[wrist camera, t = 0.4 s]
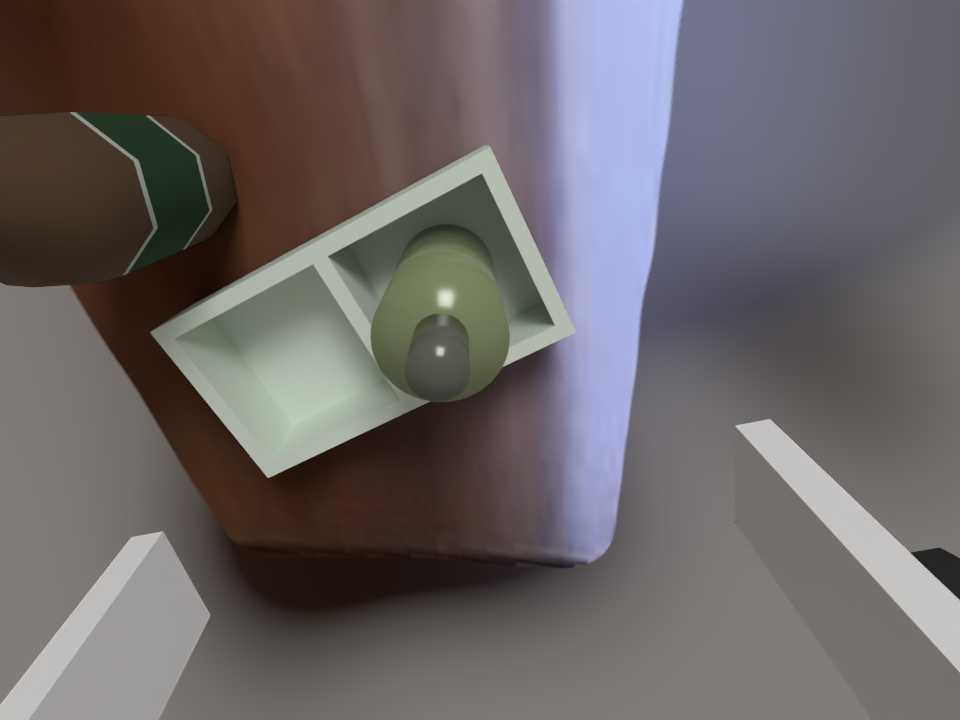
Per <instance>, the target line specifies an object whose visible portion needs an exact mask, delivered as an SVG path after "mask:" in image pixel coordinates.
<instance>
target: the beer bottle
mask: <svg viewBox="0 0 960 720" xmlns="http://www.w3.org/2000/svg"><path fill="white" fill-rule="evenodd" d="M237 201H238V200H237V196H236V192H235V187H234V183H233V178H232V174H231V170H230V165H229V161H228V156H227V153H226V152H225V151H224V150H223V149H221V148H220V147H219V146H218V145H216V144H215V143H214V142H213V141H211V140H210V139H209V138H208V137H206V136H205V135H204V134H203V133H202V132H200V131H199V130H198V129H197V128H195V127H194V126H193V125H192V124H190V123H189V122H188V121H187V120H185V119H181V118H176V117H167V116H145V115H123V114H101V113H79V112H63V113H46V114H30V115H14V116H0V282H1V283H3V284H5V285H11V286H24V287H45V286H59V285H76V284H92V283H100V282H103V281H107V280H110V279H113V278H117V277H120V276H123V275H126V274H128V273H130V272H133V271H135V270H137V269H140V268H142V267H144V266H147V265H149V264H151V263H154V262H156V261H158V260H160V259H163V258H165V257H167V256H170V255H172V254H174V253H177V252H179V251H181V250H184V249H186V248H188V247H191V246H193V245H195V244H197V243H200V242H202V241H204V240H206V239H207V238H209V237H211V236H212V235H214V234H215V232H216V231H217V229H218V228H219V226H220V225H221V224H222V222H223V221H224V219H225V218H226V216H227V215H228V214H229V212H230V211H231V209H232V208H233V206H234V205H235V204H236V202H237Z"/></svg>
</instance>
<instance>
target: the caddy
mask: <svg viewBox="0 0 960 720" xmlns="http://www.w3.org/2000/svg"><path fill="white" fill-rule="evenodd" d="M441 224H451V225H457V226H461V227H463V228H466V229H468V230H470V231H472V232H473V233H474V234H476V235H477V236H478V237H479V238H480V239H481V240H482V241H483V242H484V243H485V245H486V246H487V248H488V250H489V252H490V254H491V257H492V260H493V264H494V268H495V273H496V277H497V281H498V285H499V289H500V293H501V297H502V301H503V305H504V309H505V313H506V317H507V322H508V326H509V333H510V344H509V350H508V354H507V358H506V360H505V363H504V365H503V367H504V366H506V365H508V364H510V363H512V362H514V361H516V360H518V359H521V358H523V357H525V356H527V355H529V354H531V353H533V352H535V351H537V350H540V349H542V348H544V347H546V346H548V345H550V344H552V343H554V342H556V341H559V340H561V339H563V338H565V337H567V336H569V335H571V334H573V333H575V332H576V331H575V329H574V326H573V324H572V322H571V320H570V318H569V316H568V314H567V311H566V309H565V307H564V305H563V303H562V301H561V298H560V296H559V294H558V292H557V290H556V288H555V286H554V283H553V281H552V279H551V277H550V275H549V273H548V270H547V268H546V266H545V264H544V262H543V260H542V258H541V255H540V253H539V251H538V249H537V247H536V245H535V242H534V240H533V238H532V236H531V234H530V232H529V229H528V227H527V225H526V223H525V221H524V219H523V217H522V214H521V212H520V210H519V208H518V206H517V204H516V201H515V199H514V197H513V195H512V193H511V191H510V189H509V186H508V184H507V182H506V180H505V178H504V176H503V173H502V171H501V169H500V167H499V165H498V163H497V161H496V158H495V156H494V154H493V152H492V150H491V148H490V147H489V146H488V145H486V144H485V145H483V146H482V147H480V148H478V149H476V150H474V151H472V152H471V153H469V154H467V155H465V156H463V157H462V158H460V159H458V160H456V161H454V162H452V163H451V164H449V165H447V166H445V167H443V168H441V169H440V170H438V171H436V172H434V173H432V174H430V175H429V176H427V177H425V178H423V179H421V180H419V181H418V182H416V183H414V184H412V185H410V186H408V187H407V188H405V189H403V190H401V191H399V192H397V193H396V194H394V195H392V196H390V197H388V198H386V199H385V200H383V201H381V202H379V203H377V204H375V205H374V206H372V207H370V208H368V209H366V210H364V211H363V212H361V213H359V214H357V215H355V216H353V217H352V218H350V219H348V220H346V221H344V222H342V223H341V224H339V225H337V226H335V227H333V228H331V229H330V230H328V231H326V232H324V233H322V234H320V235H319V236H317V237H315V238H313V239H311V240H310V241H308V242H306V243H304V244H302V245H300V246H299V247H297V248H295V249H293V250H291V251H289V252H288V253H286V254H284V255H282V256H280V257H278V258H277V259H275V260H273V261H271V262H269V263H267V264H266V265H264V266H262V267H260V268H258V269H256V270H255V271H253V272H251V273H249V274H247V275H245V276H244V277H242V278H240V279H238V280H236V281H234V282H233V283H231V284H229V285H227V286H225V287H223V288H222V289H220V290H218V291H216V292H214V293H212V294H211V295H209V296H207V297H205V298H203V299H201V300H200V301H198V302H196V303H194V304H193V305H191V306H189V307H188V308H186V309H185V310H183V311H182V312H180V313H179V314H177V315H176V316H174V317H173V318H171V319H170V320H168V321H166V322H165V323H163V324H162V325H160V326H159V327H157V328H156V329H154V330H153V331H151V332H150V333H151V334H152V336H153V337H154V338H155V339H156V341H157V342H158V343H159V344H160V345H161V347H162V348H163V349H164V350H165V352H166V353H167V354H168V355H169V357H170V358H171V359H172V360H173V362H174V363H175V364H176V365H177V366H178V368H179V369H180V370H181V371H182V373H183V374H184V375H185V376H186V378H187V379H188V380H189V381H190V382H191V384H192V385H193V386H194V387H195V389H196V390H197V391H198V392H199V394H200V395H201V396H202V397H203V398H204V400H205V401H206V402H207V403H208V405H209V406H210V407H211V408H212V410H213V411H214V412H215V413H216V415H217V416H218V417H219V418H220V419H221V421H222V422H223V423H224V424H225V426H226V427H227V428H228V429H229V431H230V432H231V433H232V434H233V435H234V437H235V438H236V439H237V440H238V442H239V443H240V444H241V445H242V447H243V448H244V449H245V450H246V451H247V453H248V454H249V455H250V456H251V458H252V459H253V460H254V461H255V463H256V464H257V465H258V466H259V467H260V469H261V470H262V471H263V472H264V474H265V475H266V476H267V477H268V478H269V477H271V476H274V475H276V474H278V473H280V472H282V471H284V470H286V469H288V468H290V467H293V466H295V465H297V464H299V463H301V462H303V461H305V460H307V459H309V458H312V457H314V456H316V455H318V454H320V453H322V452H324V451H326V450H328V449H331V448H333V447H335V446H337V445H339V444H341V443H343V442H345V441H347V440H350V439H352V438H354V437H356V436H358V435H360V434H362V433H364V432H366V431H369V430H371V429H373V428H375V427H377V426H379V425H381V424H383V423H385V422H388V421H390V420H392V419H394V418H396V417H398V416H400V415H402V414H404V413H407V412H409V411H411V410H413V409H415V408H417V407H419V406H421V405H423V404H426V403H428V402H430V401H427V400H422V399H419V398H416V397H413V396H411V395H409V394H407V393H405V392H403V391H402V390H400V389H398V388H397V387H396V386H395V385H393V384H392V383H391V382H390V381H389V380H388V379H387V378H386V377H385V375H384V374H383V372H382V371H381V370H380V368H379V366H378V364H377V363H376V360H375V357H374V355H373V351H372V347H371V338H370V337H371V326H372V321H373V318H374V315H375V312H376V310H377V308H378V305H379V303H380V301H381V299H382V297H383V295H384V293H385V290H386V288H387V286H388V284H389V282H390V280H391V278H392V275H393V273H394V271H395V269H396V267H397V265H398V263H399V260H400V258H401V256H402V254H403V252H404V250H405V248H406V246H407V245H408V243H409V242H410V241H411V239H412V238H413V237H414V236H416V235H417V234H418V233H419V232H421V231H423V230H424V229H426V228H429V227H432V226H435V225H441Z"/></svg>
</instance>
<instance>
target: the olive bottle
mask: <svg viewBox="0 0 960 720" xmlns="http://www.w3.org/2000/svg"><path fill="white" fill-rule="evenodd" d="M370 338H371V347H372V351H373V355H374V357H375V360H376V363H377V364H378V366H379V368H380V370H381V371H382V372H383V374H384V375H385V377H386V378H387V379H388V380H389V381H390V382H391V383H392V384H393V385H395V386H396V387H397V388H398V389H400V390H402V391H403V392H405V393H407V394H409V395H411V396H413V397H416V398H419V399H422V400H427V401H433V402H450V401H456V400H460V399H464V398H467V397H469V396H472V395H474V394H475V393H477V392H479V391H481V390H482V389H483V388H485V387H486V386H487V385H488V384H490V383H491V382H492V381H493V380H494V378H495V377H496V376H497V375H498V373H499V372H500V370H501V369H502V367H503V365H504V363H505V360H506V358H507V354H508V350H509V344H510V333H509V326H508V322H507V317H506V313H505V309H504V305H503V301H502V297H501V293H500V289H499V285H498V281H497V277H496V273H495V268H494V264H493V260H492V257H491V254H490V252H489V250H488V248H487V246H486V245H485V243H484V242H483V241H482V240H481V239H480V238H479V237H478V236H477V235H476V234H474V233H473V232H472V231H470V230H468V229H466V228H463V227H461V226H457V225H451V224H441V225H435V226H432V227H429V228H426V229H424V230H423V231H421V232H419V233H418V234H417V235H416V236H414V237H413V238H412V239H411V241H410V242H409V243H408V245H407V246H406V248H405V250H404V252H403V254H402V256H401V258H400V260H399V263H398V265H397V267H396V269H395V271H394V273H393V275H392V278H391V280H390V282H389V284H388V286H387V288H386V290H385V293H384V295H383V297H382V299H381V301H380V303H379V305H378V308H377V310H376V312H375V315H374V318H373V321H372V326H371V337H370Z"/></svg>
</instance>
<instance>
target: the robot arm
mask: <svg viewBox="0 0 960 720" xmlns="http://www.w3.org/2000/svg"><path fill="white" fill-rule="evenodd" d="M735 524H736V525H737V527H738V528H739V529H740V531H741V532H742V534H743V535H744V537H745V538H746V540H747V541H748V542H749V544H750V545H751V547H752V548H753V550H754V551H755V552H756V554H757V555H758V557H759V558H760V560H761V561H762V563H763V564H764V566H765V567H766V568H767V570H768V571H769V573H770V574H771V576H772V577H773V579H774V580H775V581H776V583H777V584H778V586H779V587H780V589H781V590H782V592H783V593H784V594H785V596H786V597H787V599H788V600H789V602H790V603H791V605H792V606H793V607H794V609H795V610H796V612H797V613H798V615H799V616H800V618H801V619H802V621H803V622H804V623H805V625H806V626H807V628H808V629H809V631H810V632H811V633H812V635H813V636H814V638H815V639H816V641H817V642H818V644H819V645H820V647H821V648H822V649H823V651H824V652H825V654H826V655H827V657H828V658H829V660H830V661H831V662H832V664H833V665H834V667H835V668H836V670H837V671H838V673H839V674H840V675H841V677H842V678H843V680H844V681H845V683H846V684H847V686H848V687H849V689H850V690H851V691H852V693H853V694H854V696H855V697H856V699H857V700H858V702H859V703H860V704H861V706H862V707H863V709H864V710H865V712H866V713H867V714H868V716H869V717H870V719H871V720H960V558H958V557H956V556H955V555H953V554H951V553H949V552H947V551H945V550H943V549H941V548H935V549H929V550H923V551H918V552H912V553H910V552H909V551H908V550H907V549H906V548H904V547H903V546H902V545H901V544H900V543H899V542H898V541H897V540H896V539H895V538H894V537H893V536H892V535H891V534H890V533H889V532H888V531H887V530H886V529H885V528H884V527H882V526H881V525H880V524H879V523H878V522H877V521H876V520H875V519H874V518H873V517H872V516H871V515H870V514H869V513H868V512H867V511H866V510H865V509H864V508H863V507H861V506H860V505H859V504H858V503H857V502H856V501H855V500H854V499H853V498H852V497H851V496H850V495H849V494H848V493H847V492H846V491H845V490H844V489H843V488H841V486H839V485H838V484H837V483H836V482H835V481H834V480H833V479H832V478H831V477H830V476H829V475H828V474H827V473H826V472H825V471H824V470H823V469H822V468H821V467H820V466H818V465H817V464H816V463H815V462H814V461H813V460H812V459H811V458H810V457H809V456H808V455H807V454H806V453H805V452H804V451H803V450H802V449H801V448H800V447H799V446H797V445H796V444H795V443H794V442H793V441H792V440H791V439H790V438H789V437H788V436H787V435H786V434H785V433H784V432H783V431H782V430H781V429H780V428H779V427H777V425H776V424H774V423H773V422H772V421H771V420H770V419H769V420H763V421H758V422H752V423H747V424H742V425H737V426H735ZM209 617H210V614H209V612H208V610H207V608H206V607H205V605H204V603H203V601H202V600H201V598H200V596H199V594H198V592H197V591H196V589H195V587H194V585H193V584H192V582H191V580H190V578H189V576H188V575H187V573H186V571H185V569H184V568H183V566H182V564H181V562H180V560H179V559H178V557H177V555H176V553H175V552H174V550H173V548H172V546H171V545H170V543H169V541H168V539H167V537H166V536H165V534H164V532H163V531H162V532H157V533H151V534H146V535H141V536H135V537H131V538H130V540H129V541H128V542H127V544H126V545H125V546H124V547H123V549H122V550H121V551H120V552H119V554H118V555H117V556H116V557H115V559H114V560H113V561H112V563H111V564H110V565H109V567H108V568H107V569H106V570H105V572H104V573H103V574H102V575H101V577H100V578H99V579H98V581H97V582H96V583H95V584H94V586H93V587H92V588H91V590H90V591H89V592H88V594H87V595H86V596H85V597H84V598H83V600H82V601H81V602H80V604H79V605H78V606H77V607H76V609H75V610H74V611H73V613H72V614H71V615H70V616H69V618H68V619H67V620H66V621H65V623H64V624H63V625H62V627H61V628H60V629H59V630H58V632H57V633H56V634H55V636H54V637H53V638H52V639H51V641H50V642H49V643H48V645H47V646H46V647H45V648H44V650H43V651H42V652H41V653H40V655H39V656H38V657H37V659H36V660H35V661H34V663H33V664H32V665H31V666H30V668H29V669H28V670H27V671H26V673H25V674H24V675H23V677H22V678H21V679H20V680H19V682H18V683H17V684H16V686H15V687H14V688H13V689H12V691H11V692H10V693H9V694H8V696H7V697H6V698H5V700H4V701H3V702H2V703H1V705H0V720H159V718H160V716H161V714H162V712H163V710H164V708H165V706H166V704H167V701H168V700H169V697H170V696H171V694H172V691H173V690H174V688H175V685H176V684H177V682H178V680H179V678H180V676H181V674H182V672H183V669H184V668H185V666H186V664H187V661H188V659H189V657H190V655H191V653H192V651H193V649H194V647H195V645H196V643H197V641H198V639H199V637H200V635H201V633H202V631H203V629H204V627H205V625H206V623H207V621H208V619H209Z"/></svg>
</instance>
